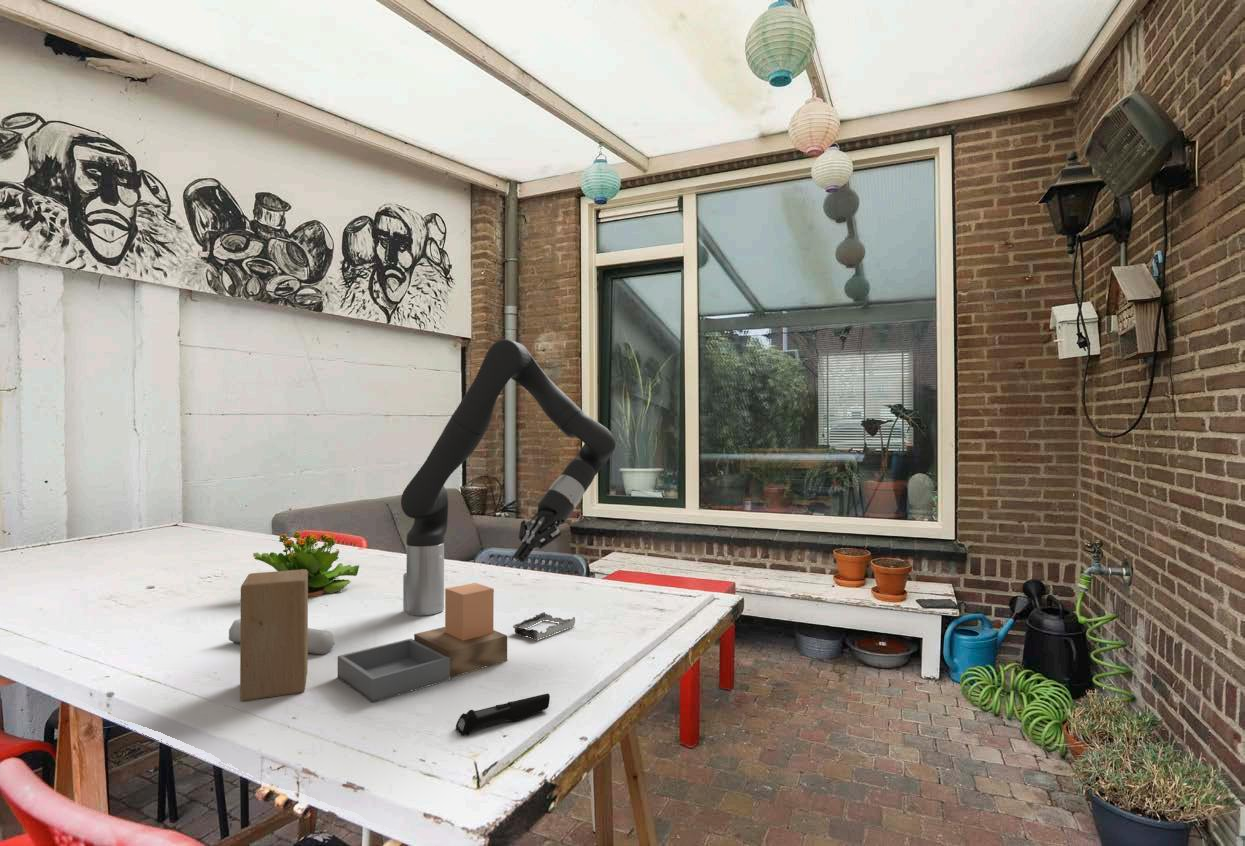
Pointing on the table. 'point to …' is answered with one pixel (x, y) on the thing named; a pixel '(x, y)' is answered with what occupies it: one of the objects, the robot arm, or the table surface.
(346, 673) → the box
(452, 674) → the square wooden plinth
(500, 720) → the electric trimmer
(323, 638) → the tube
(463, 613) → the terracotta block
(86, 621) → the table surface
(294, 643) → the wooden block
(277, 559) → the potted flower
